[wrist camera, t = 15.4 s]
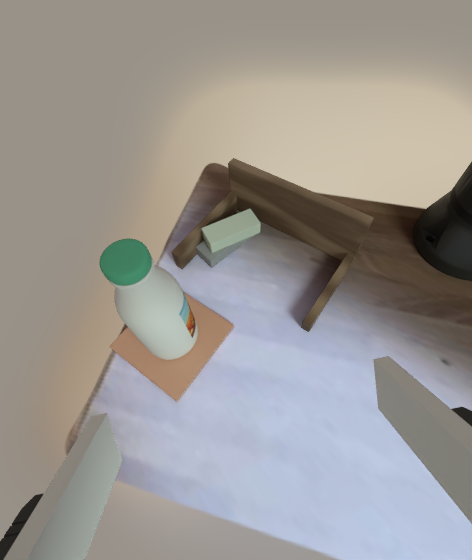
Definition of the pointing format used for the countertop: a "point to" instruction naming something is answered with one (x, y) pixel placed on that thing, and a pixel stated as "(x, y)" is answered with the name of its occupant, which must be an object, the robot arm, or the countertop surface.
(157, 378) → the tile pad
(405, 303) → the countertop surface
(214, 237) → the offcut upper
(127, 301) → the milk bottle
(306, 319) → the frame
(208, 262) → the offcut lower
